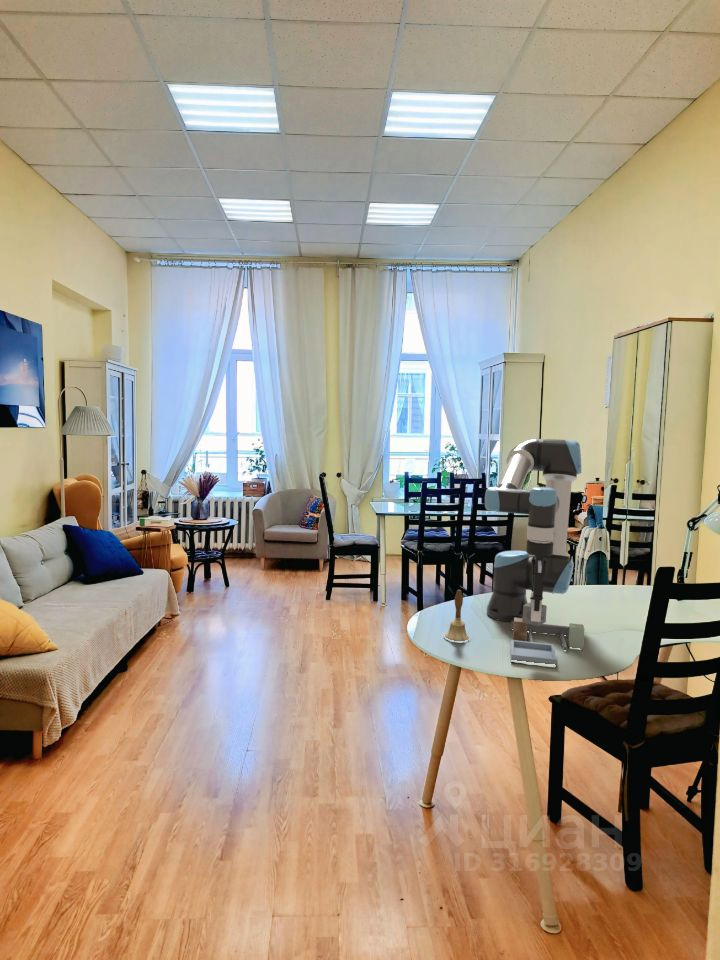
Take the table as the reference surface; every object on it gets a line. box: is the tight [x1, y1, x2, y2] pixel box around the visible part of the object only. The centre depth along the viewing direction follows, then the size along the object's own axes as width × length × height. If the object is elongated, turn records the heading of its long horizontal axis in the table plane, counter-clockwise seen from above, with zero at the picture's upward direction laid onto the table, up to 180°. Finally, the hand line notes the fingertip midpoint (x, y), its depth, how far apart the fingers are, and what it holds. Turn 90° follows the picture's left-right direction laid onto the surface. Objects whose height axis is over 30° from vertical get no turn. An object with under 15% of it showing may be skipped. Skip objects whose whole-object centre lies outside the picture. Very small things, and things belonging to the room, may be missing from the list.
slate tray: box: [510, 639, 558, 666], centre depth 188 cm, size 13×13×2 cm
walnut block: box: [512, 618, 528, 642], centre depth 201 cm, size 4×4×7 cm
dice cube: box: [522, 601, 548, 626], centre depth 186 cm, size 5×5×5 cm
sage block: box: [567, 622, 585, 650], centre depth 197 cm, size 4×4×7 cm
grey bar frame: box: [510, 621, 569, 651], centre depth 202 cm, size 22×16×3 cm
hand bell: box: [444, 589, 470, 641], centre depth 201 cm, size 8×8×16 cm
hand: (535, 617), depth 187 cm, fingers closed on dice cube, 6 cm apart
